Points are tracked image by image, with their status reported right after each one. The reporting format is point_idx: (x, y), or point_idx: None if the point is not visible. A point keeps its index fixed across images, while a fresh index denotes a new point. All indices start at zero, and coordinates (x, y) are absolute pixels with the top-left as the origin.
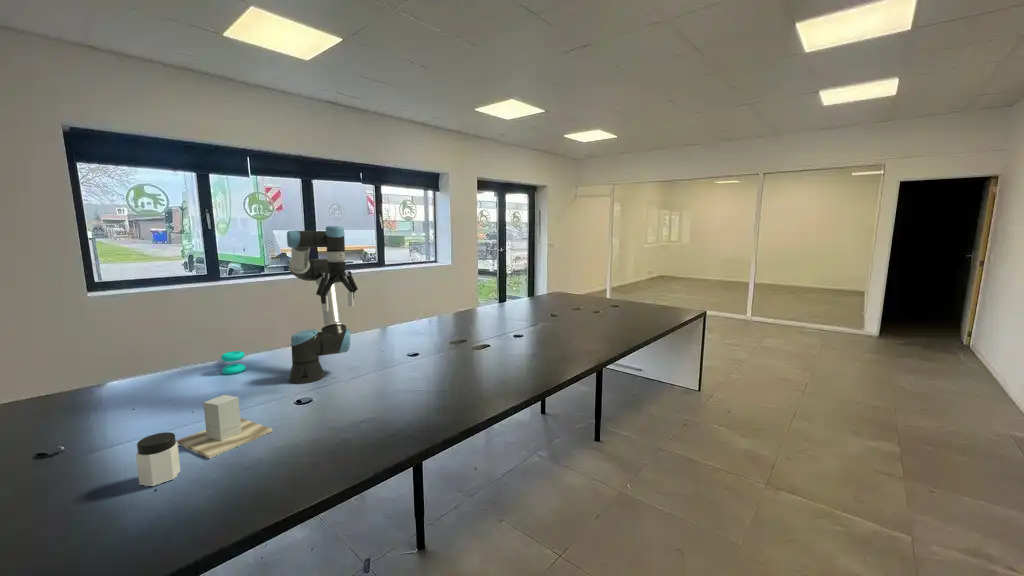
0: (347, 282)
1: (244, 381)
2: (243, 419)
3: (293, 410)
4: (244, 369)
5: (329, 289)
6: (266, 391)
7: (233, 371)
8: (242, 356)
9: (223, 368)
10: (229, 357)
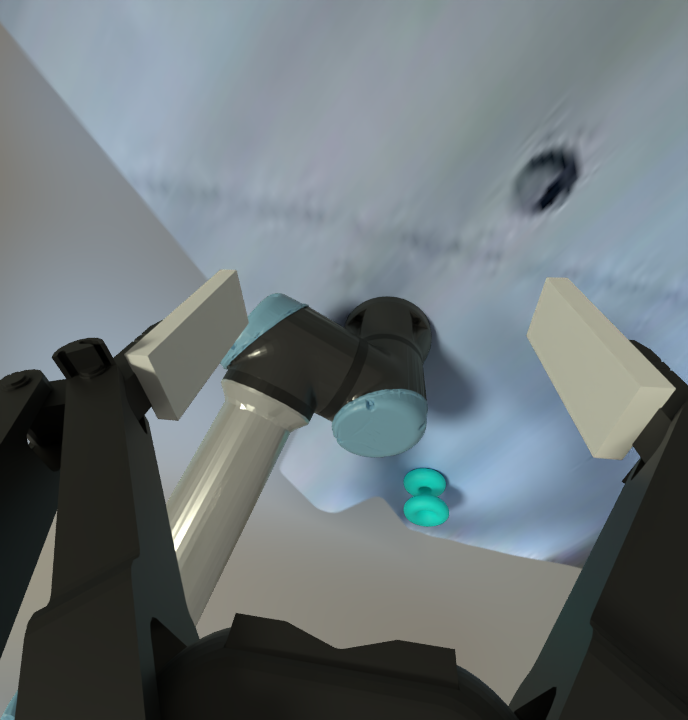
0: (82, 542)
1: (461, 428)
2: None
3: (633, 134)
4: (414, 471)
5: (651, 491)
6: (502, 343)
7: (437, 475)
8: (419, 498)
9: (440, 494)
10: (444, 507)
